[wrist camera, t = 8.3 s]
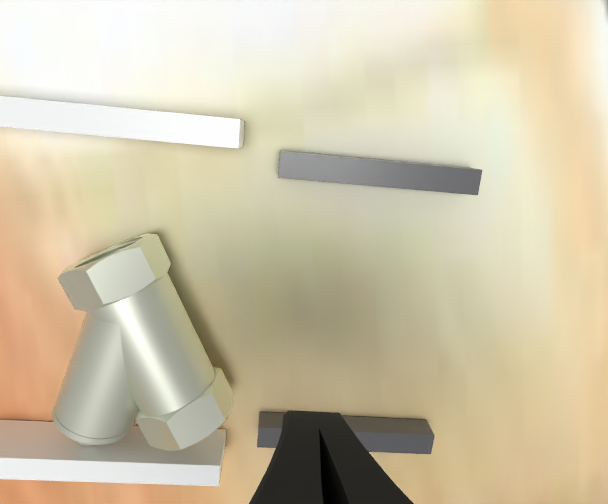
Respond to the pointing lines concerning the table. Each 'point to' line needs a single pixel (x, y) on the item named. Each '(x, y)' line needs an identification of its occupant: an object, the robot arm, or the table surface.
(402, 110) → the table surface
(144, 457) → the bracket
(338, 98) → the table surface
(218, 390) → the pipe fitting
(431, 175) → the dark grey bars
